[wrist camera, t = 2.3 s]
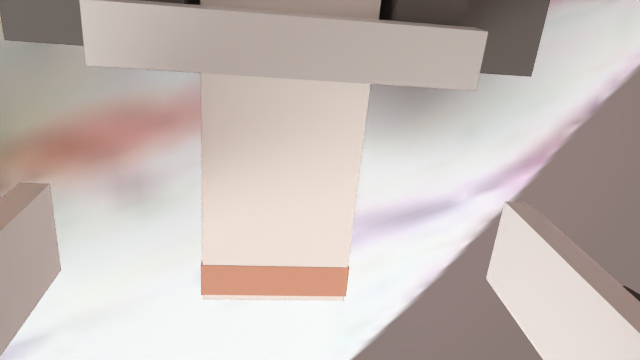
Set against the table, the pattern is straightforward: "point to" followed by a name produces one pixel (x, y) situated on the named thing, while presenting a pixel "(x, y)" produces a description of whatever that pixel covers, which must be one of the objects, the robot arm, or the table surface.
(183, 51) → the dispenser
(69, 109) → the table surface
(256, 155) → the cream rectangular bar
